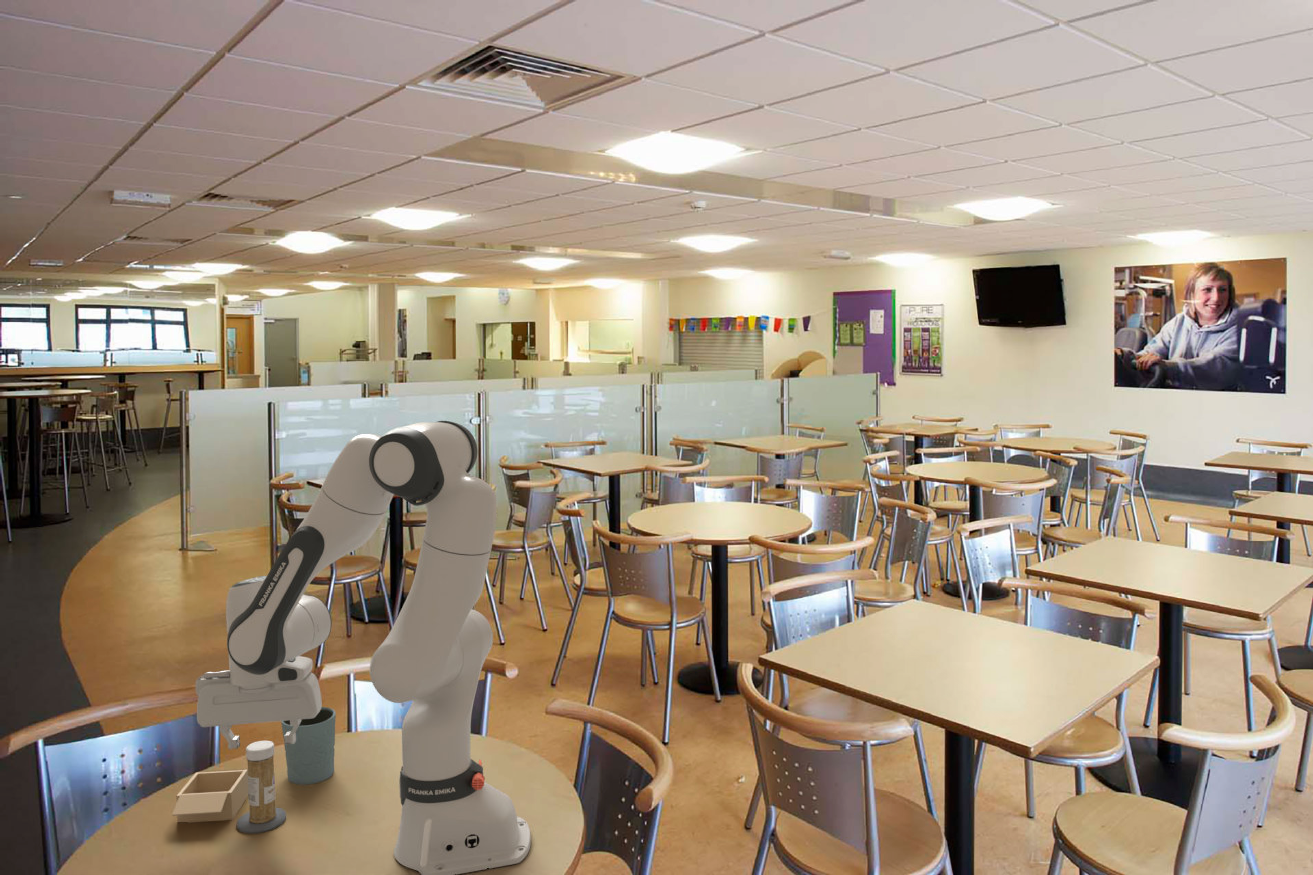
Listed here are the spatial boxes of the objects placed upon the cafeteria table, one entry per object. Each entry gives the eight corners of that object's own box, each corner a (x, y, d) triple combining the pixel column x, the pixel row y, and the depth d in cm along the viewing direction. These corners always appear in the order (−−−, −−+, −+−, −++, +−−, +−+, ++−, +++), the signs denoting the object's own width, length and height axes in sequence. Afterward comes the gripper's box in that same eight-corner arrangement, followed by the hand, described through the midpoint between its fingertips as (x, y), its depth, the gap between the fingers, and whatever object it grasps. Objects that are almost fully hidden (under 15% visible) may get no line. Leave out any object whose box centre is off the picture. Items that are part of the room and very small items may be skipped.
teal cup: (305, 790, 169) (304, 729, 168) (271, 778, 174) (269, 719, 173) (348, 770, 178) (346, 711, 177) (314, 758, 183) (312, 702, 182)
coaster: (291, 808, 162) (291, 805, 162) (279, 831, 154) (278, 828, 154) (245, 811, 161) (245, 808, 161) (230, 834, 153) (230, 831, 153)
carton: (254, 785, 171) (253, 760, 171) (225, 830, 155) (224, 801, 154) (204, 788, 170) (203, 762, 170) (169, 833, 154) (167, 805, 153)
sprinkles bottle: (278, 819, 157) (276, 746, 156) (250, 827, 155) (248, 752, 154) (273, 809, 161) (271, 737, 160) (246, 816, 158) (243, 743, 157)
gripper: (187, 679, 151) (193, 758, 152) (312, 669, 154) (317, 747, 155) (201, 667, 157) (206, 743, 158) (321, 658, 160) (326, 733, 161)
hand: (262, 745), depth 157 cm, fingers open, 8 cm apart
